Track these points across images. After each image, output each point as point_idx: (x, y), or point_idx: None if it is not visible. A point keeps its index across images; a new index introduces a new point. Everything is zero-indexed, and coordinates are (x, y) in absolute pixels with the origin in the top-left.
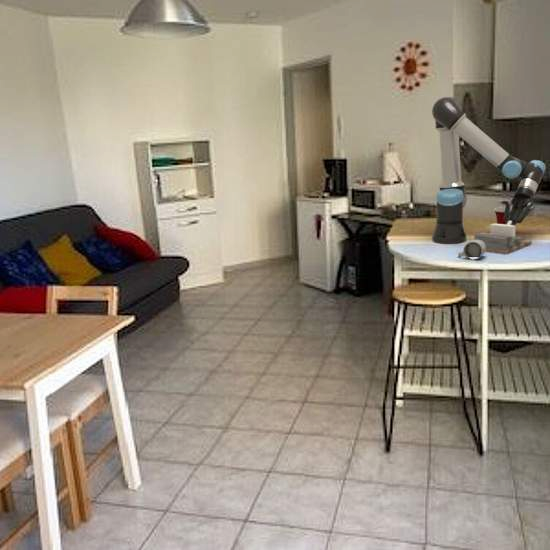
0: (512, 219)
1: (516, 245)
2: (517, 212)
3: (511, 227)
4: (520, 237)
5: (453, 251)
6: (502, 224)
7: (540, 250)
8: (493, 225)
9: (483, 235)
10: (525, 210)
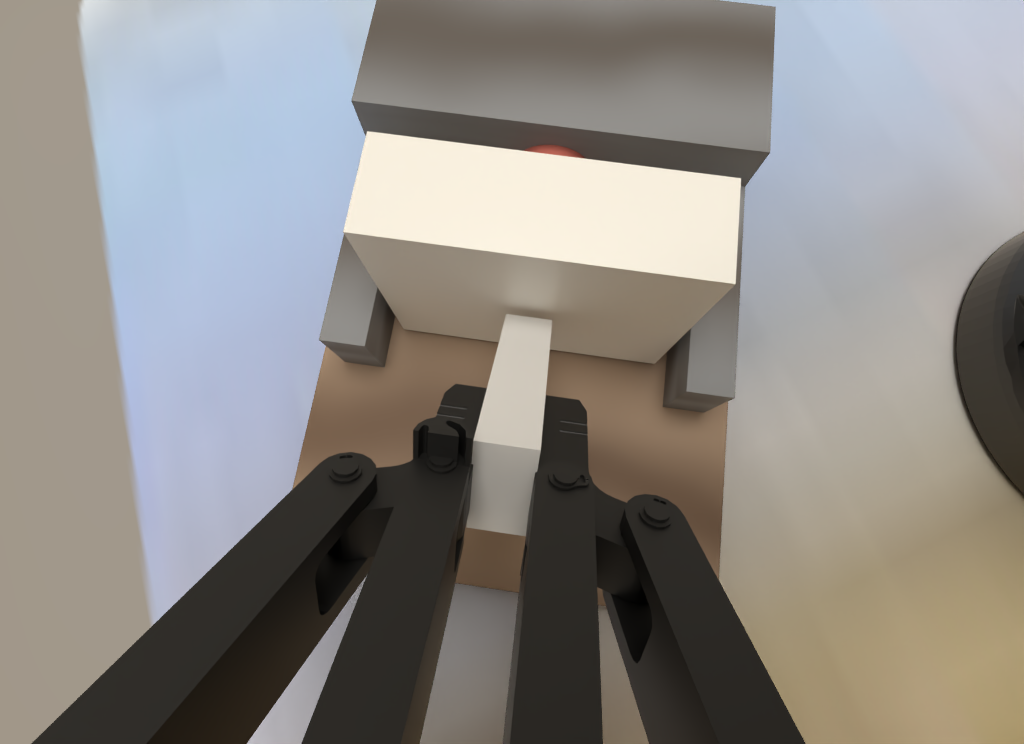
0: (465, 448)
1: None
2: (378, 646)
3: (383, 142)
4: (330, 329)
5: (825, 14)
6: (568, 244)
7: (163, 333)
8: (680, 175)
9: (670, 18)
10: (104, 713)
